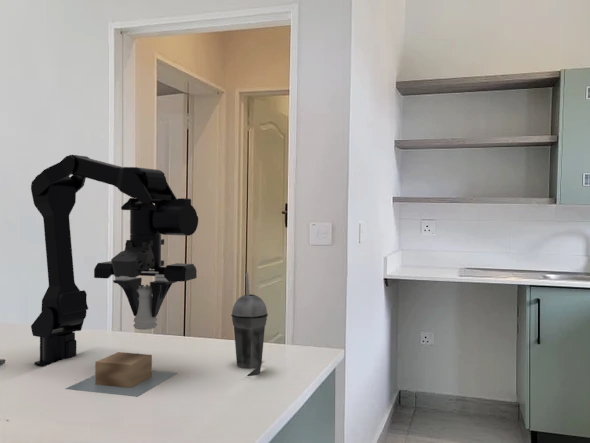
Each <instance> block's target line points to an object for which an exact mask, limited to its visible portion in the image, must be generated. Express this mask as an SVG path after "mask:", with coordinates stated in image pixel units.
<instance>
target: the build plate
mask: <svg viewBox="0 0 590 443" xmlns="http://www.w3.org/2000/svg"><path fill="white" fill-rule="evenodd" d="M177 374H178V372H174V371H173V372H171V371H162V370H152V377H150V378H148V379H146V380H145V381H143V382H141V383H139V384H137V385H135V386H134V387H132V388H125V387H115V386H106V385H96V384H95V374H94V375H91V376H90V377H88V378H85V379H84V380H81V381H78V382H77V383H75V384H72V385H70V386H67V387H66V388H64V389H65V390H70V391H71V390H72V391H80V392H90V393H99V394H108V395H118V396H128V397H136V398H138V397H140V396H142V395H143V394H145V393H146V392H148V391H150V390H152V389H154V388H155V387H156V386H158V385H160V384H162V383H163V382H166V381H167V380H168V379H170V378H172V377H174V376H176V375H177Z"/></svg>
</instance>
